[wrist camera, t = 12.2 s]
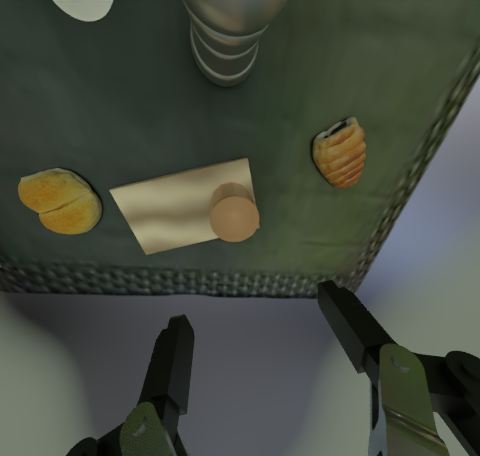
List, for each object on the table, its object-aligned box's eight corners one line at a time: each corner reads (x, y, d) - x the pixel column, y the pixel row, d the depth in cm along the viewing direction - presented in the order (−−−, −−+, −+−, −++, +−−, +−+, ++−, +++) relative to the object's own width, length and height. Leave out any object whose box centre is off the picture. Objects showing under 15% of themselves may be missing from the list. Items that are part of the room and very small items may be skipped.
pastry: (363, 171, 29) (382, 177, 26) (324, 194, 30) (338, 202, 27) (348, 112, 25) (368, 110, 21) (303, 142, 26) (316, 144, 23)
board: (114, 187, 26) (109, 190, 24) (246, 156, 26) (247, 158, 24) (149, 249, 31) (146, 254, 30) (257, 223, 31) (259, 228, 30)
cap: (206, 187, 26) (203, 203, 20) (246, 178, 26) (255, 191, 20) (217, 223, 28) (217, 246, 23) (253, 215, 28) (262, 235, 23)
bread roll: (66, 234, 28) (45, 248, 25) (19, 177, 24) (-15, 185, 20) (117, 220, 28) (103, 232, 25) (79, 161, 24) (55, 166, 20)
